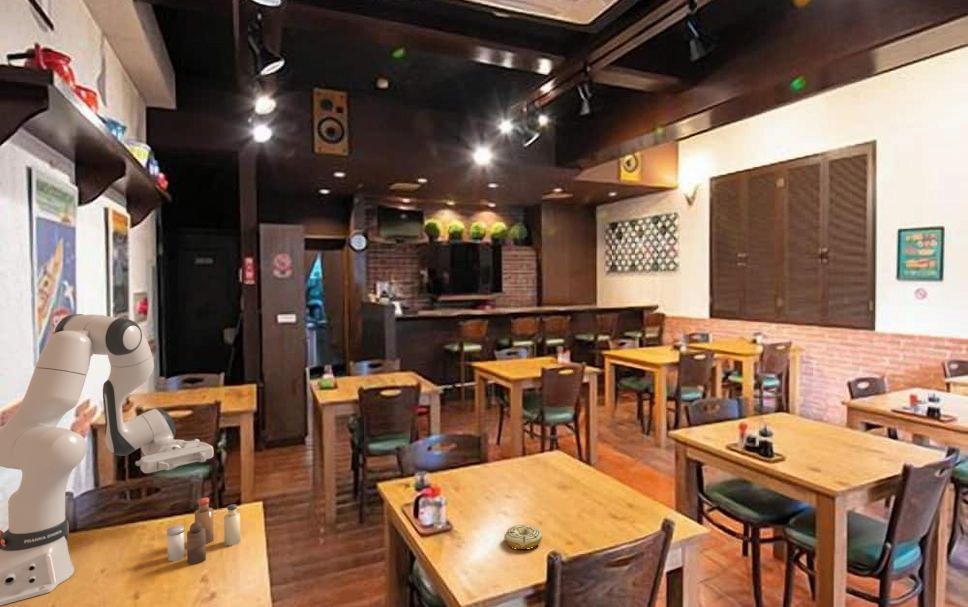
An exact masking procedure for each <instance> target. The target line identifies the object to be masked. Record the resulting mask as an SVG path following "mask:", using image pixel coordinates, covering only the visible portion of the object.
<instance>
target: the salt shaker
mask: <svg viewBox="0 0 968 607" xmlns="http://www.w3.org/2000/svg"><path fill="white" fill-rule="evenodd" d="M166 536H167V539H166V540H167V543H166V544H167V561H169V562H176V561H180V560H182V559H184V558H185V526H184V525H181V524H179V525H173V526H171V527H168V528H167V530H166Z"/></svg>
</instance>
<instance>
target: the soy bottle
mask: <svg viewBox="0 0 968 607" xmlns="http://www.w3.org/2000/svg"><path fill="white" fill-rule="evenodd" d="M197 503H198V505H199V506H198V509H197V510H195V511H194V522H200V523H201V524H202V528H205V536H206V545H209V544H211V543H212V541H213V542H214V539H215V537H214V535H215V534H214V533H215V532H214V508H213V507H209V505H210V504H209V503H210V497H200V498H199V499H198V501H197ZM210 542H211V543H210ZM208 543H209V544H208Z"/></svg>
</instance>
